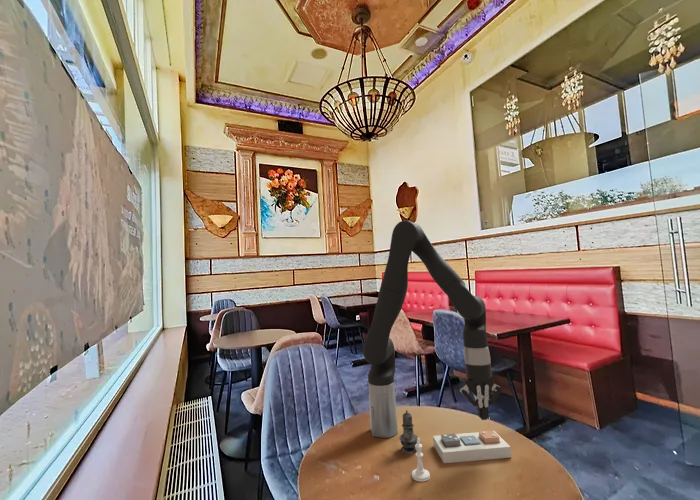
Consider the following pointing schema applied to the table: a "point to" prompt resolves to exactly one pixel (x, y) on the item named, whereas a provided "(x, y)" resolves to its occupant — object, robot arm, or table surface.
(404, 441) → the dark grey tall piece
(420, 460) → the chess piece
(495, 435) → the two-dot button
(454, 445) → the three-dot button
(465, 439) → the one-dot button
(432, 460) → the table surface
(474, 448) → the button panel
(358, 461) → the table surface
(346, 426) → the table surface
